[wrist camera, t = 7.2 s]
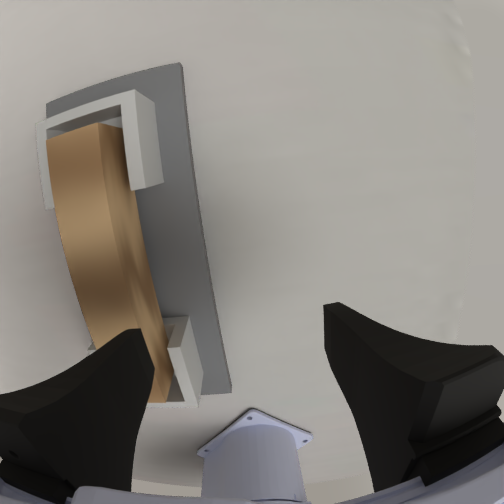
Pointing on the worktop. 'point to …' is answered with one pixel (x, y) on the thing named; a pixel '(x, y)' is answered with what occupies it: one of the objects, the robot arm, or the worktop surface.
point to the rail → (106, 242)
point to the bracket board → (158, 214)
